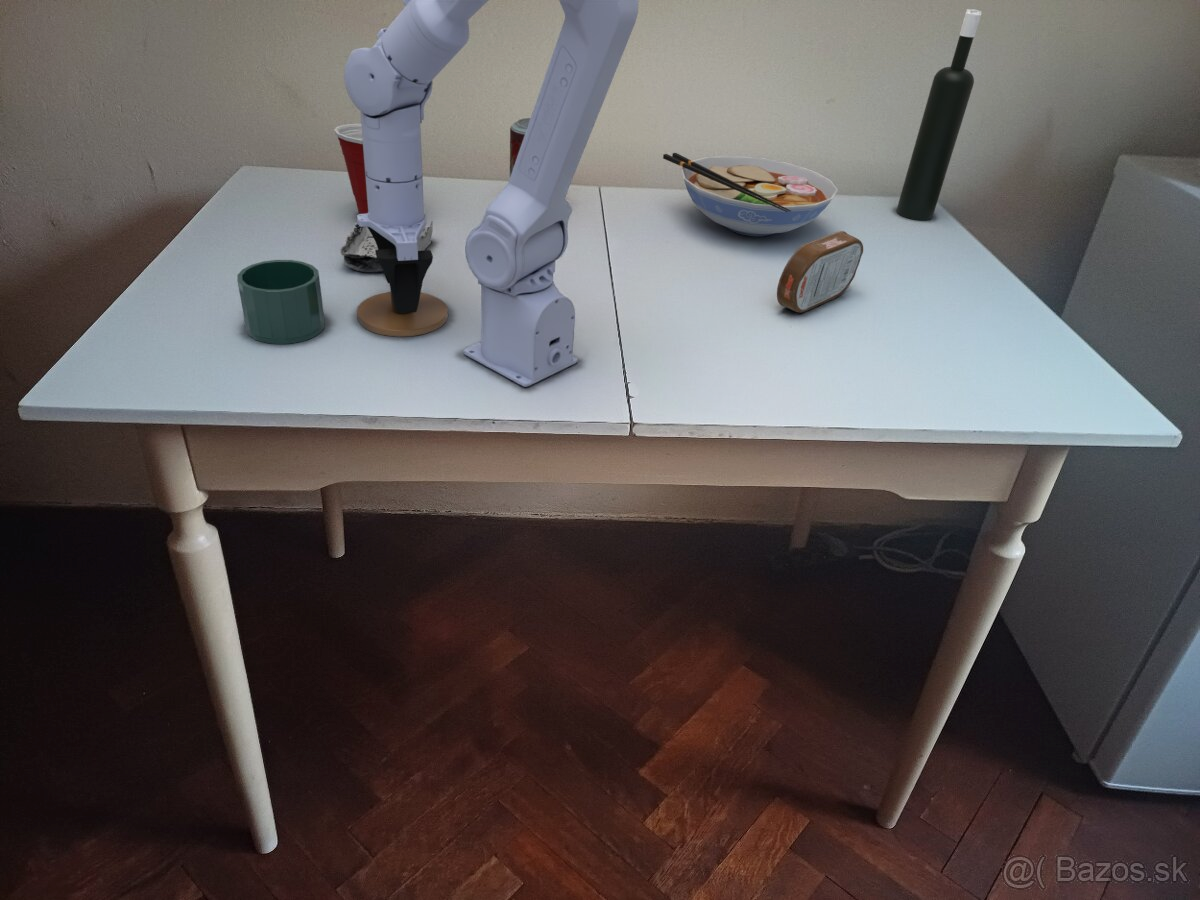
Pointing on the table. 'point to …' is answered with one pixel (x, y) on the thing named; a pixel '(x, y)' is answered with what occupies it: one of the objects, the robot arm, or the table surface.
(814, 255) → the tin
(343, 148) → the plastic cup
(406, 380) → the table surface
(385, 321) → the knobbed round lid
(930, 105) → the wine bottle
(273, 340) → the cup
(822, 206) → the ramen bowl
